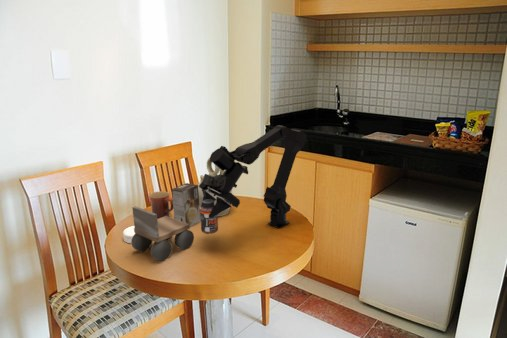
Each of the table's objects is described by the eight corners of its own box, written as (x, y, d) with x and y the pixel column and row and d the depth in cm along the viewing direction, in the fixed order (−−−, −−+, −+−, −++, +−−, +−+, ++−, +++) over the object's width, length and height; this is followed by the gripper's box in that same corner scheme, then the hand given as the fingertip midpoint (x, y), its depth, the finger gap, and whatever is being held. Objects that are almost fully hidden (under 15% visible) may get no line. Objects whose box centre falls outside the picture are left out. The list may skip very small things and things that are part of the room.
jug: (225, 203, 182) (223, 151, 175) (238, 214, 168) (235, 158, 161) (193, 208, 176) (190, 155, 169) (203, 221, 162) (200, 163, 155)
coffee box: (189, 218, 165) (186, 182, 161) (201, 221, 162) (198, 184, 158) (174, 226, 158) (171, 188, 154) (186, 229, 155) (183, 191, 150)
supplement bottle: (210, 236, 133) (208, 205, 130) (197, 232, 137) (195, 202, 133) (221, 229, 138) (220, 199, 135) (209, 226, 141) (207, 196, 138)
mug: (146, 218, 166) (144, 196, 163) (161, 211, 173) (159, 190, 170) (167, 224, 160) (164, 200, 157) (181, 217, 167) (179, 194, 164)
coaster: (124, 234, 152) (123, 226, 151) (150, 231, 154) (150, 223, 153) (123, 245, 143) (121, 237, 142) (151, 242, 145) (150, 233, 144)
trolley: (170, 235, 150) (167, 194, 145) (194, 245, 141) (191, 201, 137) (132, 252, 137) (127, 208, 132) (156, 264, 129) (151, 217, 124)
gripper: (201, 160, 140) (176, 196, 137) (230, 170, 126) (203, 211, 123) (221, 176, 147) (197, 211, 144) (251, 188, 133) (225, 227, 129)
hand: (205, 214), depth 135 cm, fingers closed on supplement bottle, 6 cm apart
